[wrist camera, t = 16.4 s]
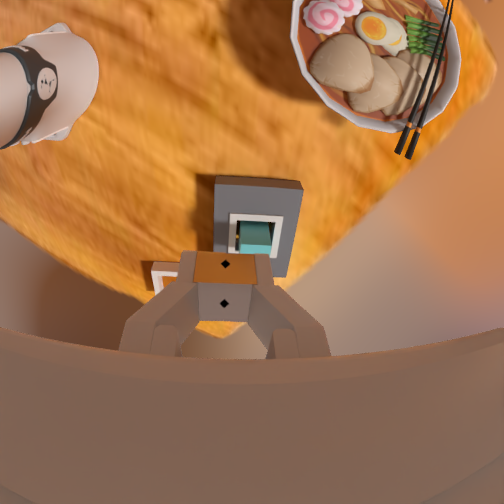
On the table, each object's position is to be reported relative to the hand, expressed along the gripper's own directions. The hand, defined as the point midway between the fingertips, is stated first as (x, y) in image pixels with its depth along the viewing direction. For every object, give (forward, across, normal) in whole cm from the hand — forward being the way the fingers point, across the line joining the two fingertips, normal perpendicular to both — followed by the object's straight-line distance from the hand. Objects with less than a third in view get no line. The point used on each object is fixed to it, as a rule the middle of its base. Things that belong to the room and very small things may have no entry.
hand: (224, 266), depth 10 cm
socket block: (+30, -5, +17) cm, 35 cm away
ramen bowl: (+30, -16, -13) cm, 37 cm away
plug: (+30, -5, +17) cm, 35 cm away
